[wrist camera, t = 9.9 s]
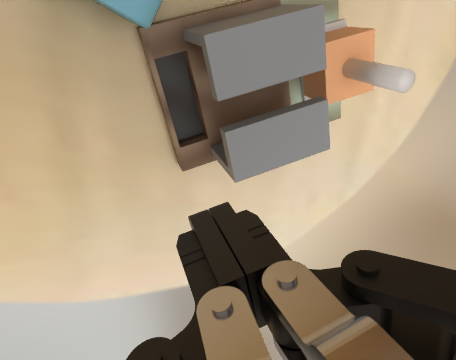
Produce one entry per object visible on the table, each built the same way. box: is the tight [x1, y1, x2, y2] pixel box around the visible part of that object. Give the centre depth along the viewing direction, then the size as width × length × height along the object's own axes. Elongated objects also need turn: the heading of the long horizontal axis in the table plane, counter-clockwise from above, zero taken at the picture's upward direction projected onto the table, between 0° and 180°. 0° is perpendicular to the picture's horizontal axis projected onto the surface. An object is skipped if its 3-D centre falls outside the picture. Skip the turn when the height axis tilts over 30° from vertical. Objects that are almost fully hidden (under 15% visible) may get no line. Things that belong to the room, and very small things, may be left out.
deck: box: [137, 0, 341, 171], centre depth 40 cm, size 16×22×2 cm
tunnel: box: [182, 4, 330, 183], centre depth 35 cm, size 14×11×8 cm
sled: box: [301, 19, 415, 104], centre depth 35 cm, size 8×6×13 cm
